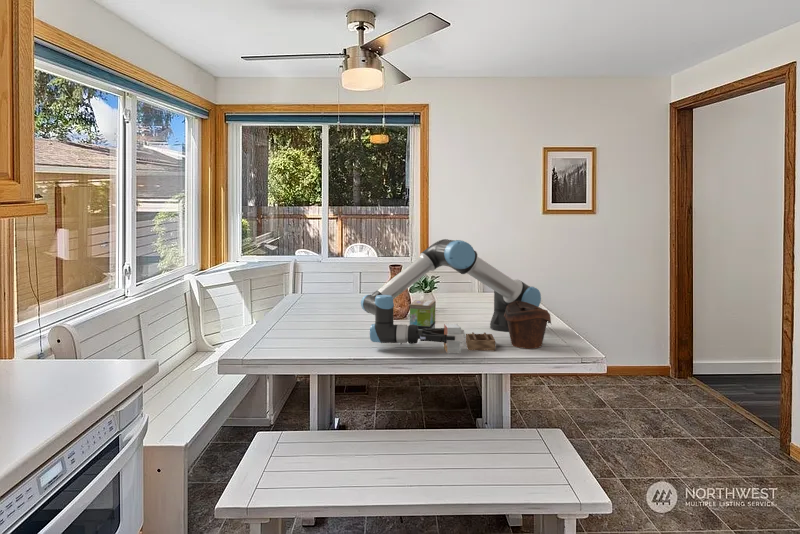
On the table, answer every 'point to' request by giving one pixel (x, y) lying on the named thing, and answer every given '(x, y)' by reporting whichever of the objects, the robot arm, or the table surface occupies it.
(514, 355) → the table surface
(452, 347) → the small box
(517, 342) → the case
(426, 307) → the tea box
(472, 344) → the crate
